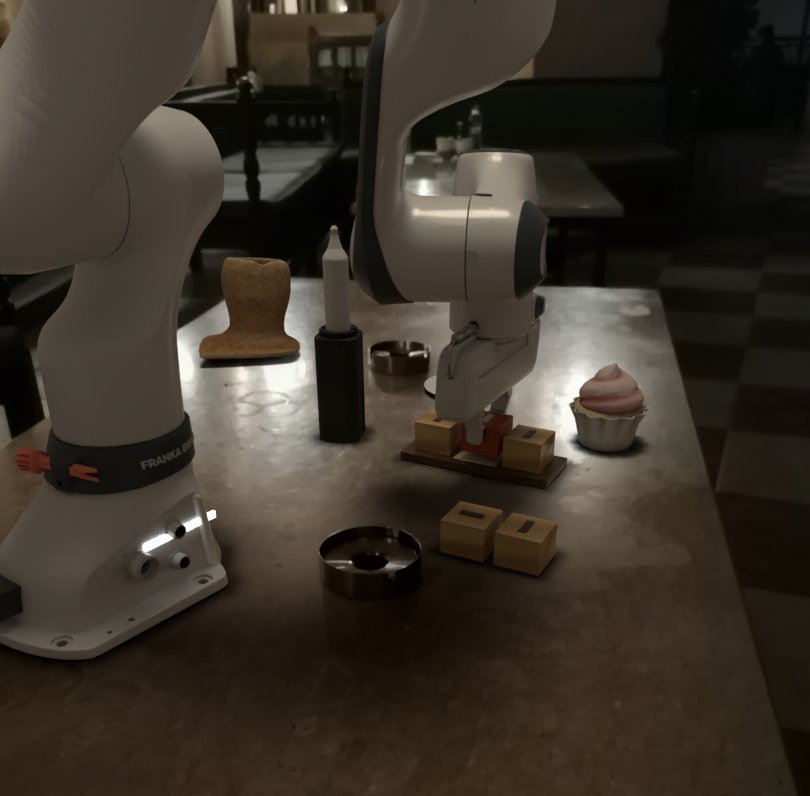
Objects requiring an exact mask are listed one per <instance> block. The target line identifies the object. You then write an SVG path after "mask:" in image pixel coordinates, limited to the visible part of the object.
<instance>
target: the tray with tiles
mask: <svg viewBox="0 0 810 796" xmlns="http://www.w3.org/2000/svg"><path fill="white" fill-rule="evenodd" d="M555 442H556V431H555V430H551V429H547V428H540V427H535V426H529V425H524V424H517V425H516V426H515V427H513V430H512V431H510V432H509V433H508V434H507V435H506V436H505V437H504V438H503V452H502V453H501V454H500V455H499V456H498V457H491V456H486V455H481V454H476V453H470V452H465V451H461V423H458V422H451V421H447V420H442V419H440V418H439V417H438V416H437V414H436V411H435V409H434V408H433V409H430V410H429V411H427V412H426V413H424V414H423V415H422V416H421V417H419V418H418V419H415V421H414V440H413V441H412V442H411V443H410V444H409V445H407V446H406V447H404V448H403V449H402V450H401V451H400V460H402V461H403V460H404V461H409V462H414V463H418V464H423V465H429V466H433V467H438V468H443V469H448V470H451V471H452V470H453V471H457V472H462V473H467V474H471V475H472V474H473V475H476V476H482V477H487V478H491V479H496V480H502V481H506V482H510V483H511V482H512V483H515V484H520V485H525V486H529V487H535V488H539V489H540V488H541V489H545V490H546V489H547V488H548V487H549V486H550V485H551V484H552V483H553V481H555V480H556V478H557V477H558V476H559V475H560V474H561V472H562V471H564V469H565V468H566V467H567V465H568V457H566V456H559V455H555V446H556V445H555Z"/></svg>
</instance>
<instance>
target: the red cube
mask: <svg viewBox="0 0 810 796" xmlns="http://www.w3.org/2000/svg"><path fill="white" fill-rule="evenodd" d="M482 422H483V426H485V427H486V439H485V440H484V441H483V442H482V443H481V444H479V445H474V444H469V443H468V442H467V440H466V427H465V425H464V423H461V451H465V452H470V453H476V454H481V455H486V456H491V457H498V456H499V455H500V454H501V453H502V452H503V438H504V437H505V436H506V435H507V434H508V433H509V432H510V431H512V430H513V429H514V415H512V414H508V413H507V414H501V413H495V412H489V410H484V416H482Z"/></svg>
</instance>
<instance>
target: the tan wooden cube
mask: <svg viewBox="0 0 810 796" xmlns="http://www.w3.org/2000/svg"><path fill="white" fill-rule="evenodd" d="M558 524H559V523H558V522H557V521H553V520H548V519H544V518H539V517H536V516H530V515H526V514H523V513H518V512H512V513H511V514H510V515H509V516H508V517H507V519H506V520H505V521H503V522H502V525H501V526H500V527H499V528H498V529H497V530H496V532H495V539H494V551H493V566H496V567H500V568H503V569H504V568H505V569H509V570H512V571H517V572H520V573H521V572H522V573H525V574H528V575H533V576H537V577H539V576H541V574H542V572H543V571H544V570H545V568H546V567H547V566H548V564H549V563H550V562H551V561H552V559H553V558H554V557H555V555H556V548H557V547H556V546H557V535H558Z"/></svg>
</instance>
